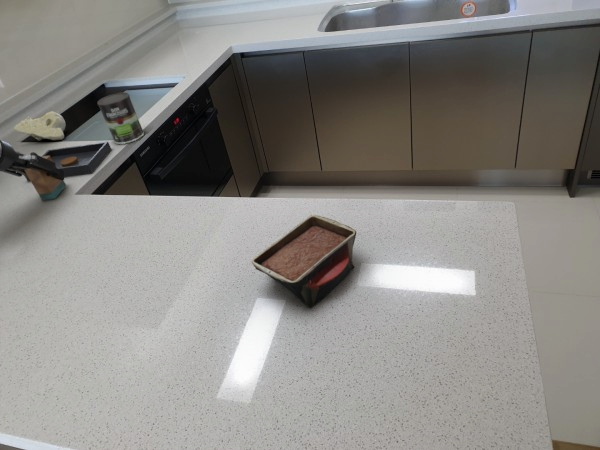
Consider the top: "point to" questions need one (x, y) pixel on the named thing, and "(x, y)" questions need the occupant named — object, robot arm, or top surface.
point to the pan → (79, 158)
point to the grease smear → (69, 161)
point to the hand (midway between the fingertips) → (55, 176)
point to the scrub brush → (45, 183)
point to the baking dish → (310, 258)
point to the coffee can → (121, 118)
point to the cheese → (43, 127)
